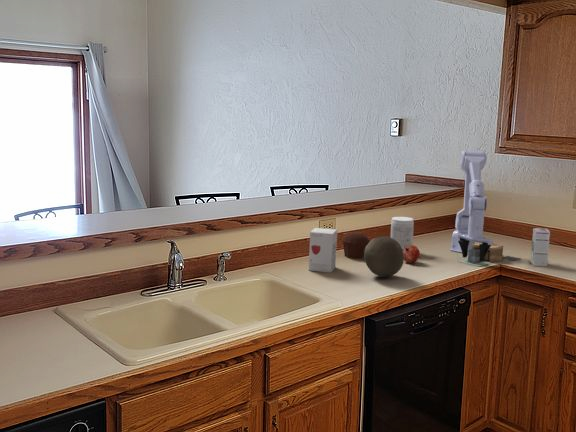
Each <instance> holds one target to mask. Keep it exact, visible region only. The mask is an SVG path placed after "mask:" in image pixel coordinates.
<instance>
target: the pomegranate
mask: <svg viewBox="0 0 576 432" xmlns="http://www.w3.org/2000/svg"><path fill="white" fill-rule="evenodd" d="M403 253H404V262H406V263H408V264H413V265H414V264H416V263H417V262H419V260H418V259H420V258H421V252H420V250H419V248H418V247H417V246H416V245H413V244H412V245H409V246H408V247H405V248H404V250H403Z"/></svg>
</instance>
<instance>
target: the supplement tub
mask: <svg viewBox="0 0 576 432" xmlns="http://www.w3.org/2000/svg"><path fill="white" fill-rule="evenodd" d="M390 223H391V224H390V238H393V239H394V240H396V241H397V242H398V243H399V244H400V246H401V248H402V250H404V248H405V247H408V246H409V245H413V244H414V242H413V239H414V229H415V228H414V224H415V222H414V218H413V217H410V216H393V217H392V218H391V222H390Z"/></svg>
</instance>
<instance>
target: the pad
mask: <svg viewBox="0 0 576 432" xmlns="http://www.w3.org/2000/svg"><path fill="white" fill-rule="evenodd" d="M457 263H462V264H466V265H470V266H475V267H479V268H480V267H483V266H487V265H490V264H491V263H490V262H489V261H486V260H484V261H480V262H477V263H471V262H468V258H464V259H461V260H458V261H457Z"/></svg>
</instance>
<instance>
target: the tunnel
mask: <svg viewBox="0 0 576 432" xmlns="http://www.w3.org/2000/svg"><path fill="white" fill-rule="evenodd" d="M479 244H482V243H479V242H475V244H473V245H472V249H476V250H477V249H478V248H480V247H479ZM488 250H490V255H489V261H488V262H489V263H490V264H492V263H495V262H499V261H502V260H503V259H502V257H503V255H504V254H503V251H504V245H502V244H497V243H493V242H492V245H491V246H490V248H489V249H488Z"/></svg>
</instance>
